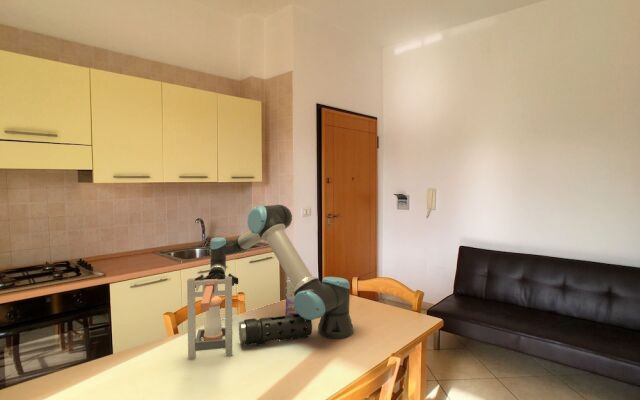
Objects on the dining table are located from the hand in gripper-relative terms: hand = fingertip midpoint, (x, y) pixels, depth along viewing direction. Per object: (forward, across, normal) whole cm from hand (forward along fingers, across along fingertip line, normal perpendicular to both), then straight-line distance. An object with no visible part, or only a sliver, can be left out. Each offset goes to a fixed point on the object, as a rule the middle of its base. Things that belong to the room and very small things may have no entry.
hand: (213, 287), depth 154 cm
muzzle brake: (+15, -25, -19) cm, 35 cm away
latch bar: (+31, 0, +4) cm, 31 cm away
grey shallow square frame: (+10, 0, -19) cm, 22 cm away
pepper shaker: (+10, 0, -19) cm, 22 cm away
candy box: (-14, -40, -19) cm, 46 cm away
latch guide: (+22, 0, -19) cm, 29 cm away
